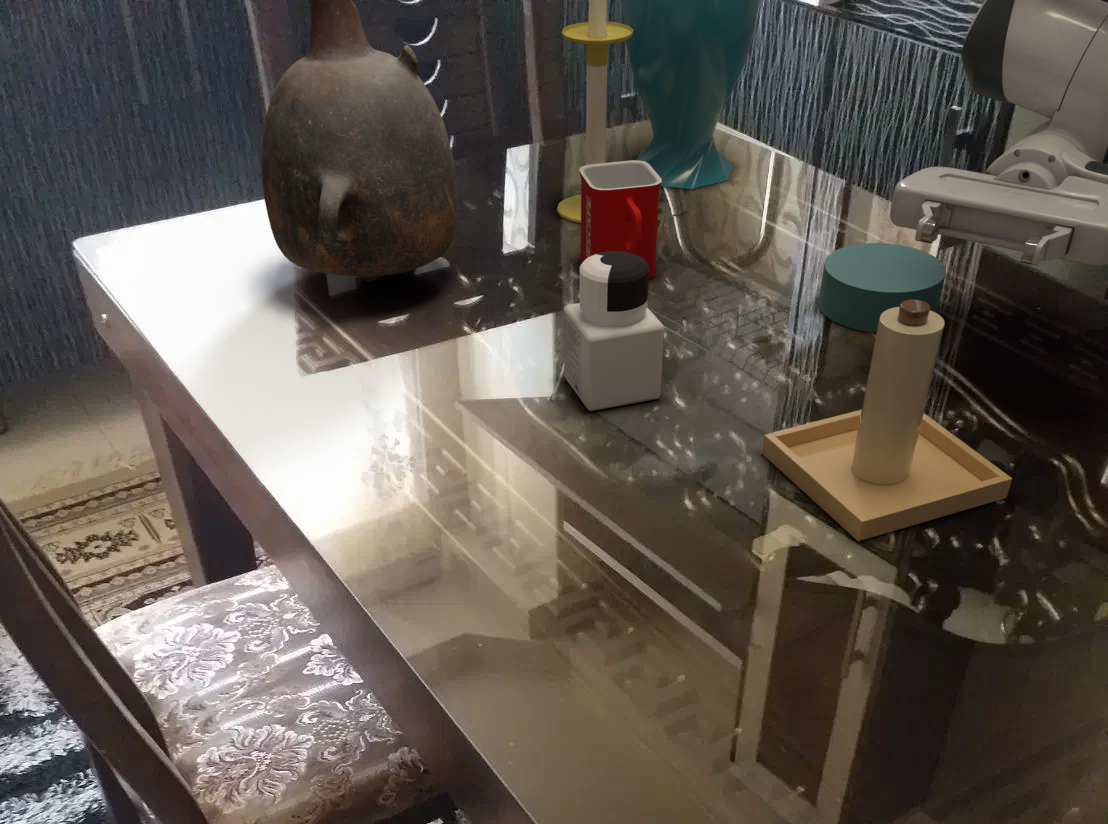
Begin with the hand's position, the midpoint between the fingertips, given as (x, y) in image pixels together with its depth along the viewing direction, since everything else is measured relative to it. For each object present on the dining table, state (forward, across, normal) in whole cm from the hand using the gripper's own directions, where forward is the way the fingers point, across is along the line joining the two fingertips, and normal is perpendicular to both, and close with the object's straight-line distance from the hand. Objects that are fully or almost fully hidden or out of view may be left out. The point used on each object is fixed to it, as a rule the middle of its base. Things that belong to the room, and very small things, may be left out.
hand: (976, 244), depth 99 cm
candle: (-27, -57, +16) cm, 65 cm away
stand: (-20, -15, +16) cm, 30 cm away
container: (+12, -30, +16) cm, 36 cm away
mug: (-12, -43, +16) cm, 48 cm away
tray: (+12, 0, +17) cm, 21 cm away
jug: (+5, -68, +16) cm, 70 cm away
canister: (+12, -1, +16) cm, 20 cm away
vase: (-46, -55, +16) cm, 74 cm away
